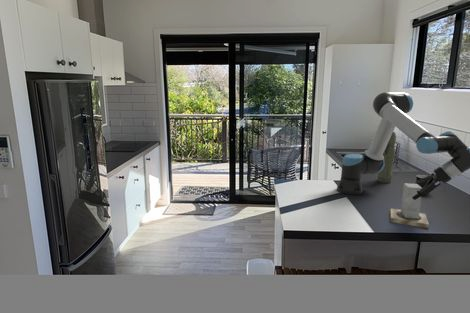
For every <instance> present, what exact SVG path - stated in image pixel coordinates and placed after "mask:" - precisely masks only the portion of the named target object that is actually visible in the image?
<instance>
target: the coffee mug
mask: <svg viewBox="0 0 470 313" xmlns="http://www.w3.org/2000/svg"><path fill="white" fill-rule="evenodd" d="M427 176H428V175H427V174H426V175H424V174H418V175H417V174H416V178H415V182H416V181H418V180H420V179H422V178H425V177H427ZM423 187H424V186H422V187H421V188H423Z"/></svg>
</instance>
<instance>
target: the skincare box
mask: <svg viewBox="0 0 470 313" xmlns="http://www.w3.org/2000/svg"><path fill="white" fill-rule="evenodd" d="M421 189H422V188H421V187H420V186H419V185H418V184H415V183H406V182H405V183H403V188H402V197H401V198H402V199H401V206H400V210H401V213H402V214H403V215H404V217H406V218H415V219H419V213H421V205H422V204H421V202H422V197H420V198H419V199H417V200H415V201H414V202H412V203H410V204H408V203H407V202H406V201H405V199H406V198H408V197H410V196H411V195H413V194H414V193H416V192H417V191H420V190H421Z"/></svg>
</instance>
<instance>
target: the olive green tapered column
mask: <svg viewBox="0 0 470 313" xmlns="http://www.w3.org/2000/svg"><path fill="white" fill-rule="evenodd" d="M396 140H397V134H396V132H395V131H393V133H392V135H391V137H390V139H389V142H388V144H387V146H386V148H385V150H384V152H383V156H384V161H385V162H384V163H385V166H384V168H383V170H382V171H381V172H379V173H377V182H380V183H382V184H391V183H392V180H393V165H394V159H395V155H396V146H395V145H396V142H397V141H396Z"/></svg>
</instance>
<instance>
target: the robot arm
mask: <svg viewBox="0 0 470 313" xmlns="http://www.w3.org/2000/svg"><path fill="white" fill-rule="evenodd" d="M372 107H373V110H374V112H375V113H376V114H377V115H378V116H379V117H380V118H381V120H380V122H379V124H378V126H377V129H376V131H375V133H374V136H373V139H372V141H371V143H370V145H369V148H368V149H366V150H364V153H363V154H361V153H348V154H345V155H344V156H343V157H342V161H341V175H340V180H339V182H338V184H337V186H336V191H337V190H338V191H337V192H339V193H341V192H342V193H341V194H344V193H345V194H344V195H349V194H350V196H352V195H353V196H356V195H357V196H358V195H362V194H363V191H364V190H363V185H362V181H361V180H362V175H375V174H378V173H379V172H381V171H382V170H383V168H384V166H385V163H384V162H385V161H384V156H383V152H384V150H385V148H386V146H387V144H388V142H389V139H390V137H391V135H392V133H393V132H395V131H394V130H395V128H397V129H398V130H399V131H400V132H402V133H403V134H404V135H405V136H407V137H408V138H409V139H410V140H411V141H412V142H414V143H415V144H416V149H417V151H418V152H419V153H421V154H427V155H429V154H439V153H440V154H441V153H447V154H448V155H449V156H450V157H451V159H449V160H447V161H445V162H444V163H443V164H441V166H438V167H436V168H434V169H433V172H432V173H431V174H429V175H426V176H427V177H425V178H422V179H420V180H418V181H416V180H415V183H414V184H418V185H419V186H420V187H422V186H424V187H423V188H422V189H421V190H420V191H417V192H416V193H414V194H413V195H411V196H410V197H408V198H406V199H405V201H406V202H407V203H408V204H410V203H412V202H414V201H415V200H417V199H419V198H420V197H421V198H425V197H426V196H428V195H429V194H430V193H432V192H433V191H434V190H435V189H436V188H438V187H439V186H440V185H441V182H442V183H443V184H447V183H448V182H449V181H451V180H452V178H453V179H455V178H456V177H460V176H461V174H463V173H464V172H466V171H468V170H469V169H470V146H467V145H466V144H465V143H464V142H463V141H462V140H461V139H460V137H459V136H457V135H456V134H455V133H453V132H452V131H450V130H447V131H445V132H442V133H440V134H439V135H438V136H435V135H434V134H432V133H431V132H429V131H428V130H427V129H425V128H424V127H423V126H422V125H421V124H419V123H418V122H417V121H415V119H412V117H410V116H409V115H407V114H408V113H410V112H411V111H412V109H413V107H414V100H413V98H412V96H411V95H410V94H409V93H407V92H402V91H399V92H398V91H397V92H394V91H393V92H389V91H386V92H381V93H379V94H378V95H376V96H375V97H374V100H373V101H372Z"/></svg>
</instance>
